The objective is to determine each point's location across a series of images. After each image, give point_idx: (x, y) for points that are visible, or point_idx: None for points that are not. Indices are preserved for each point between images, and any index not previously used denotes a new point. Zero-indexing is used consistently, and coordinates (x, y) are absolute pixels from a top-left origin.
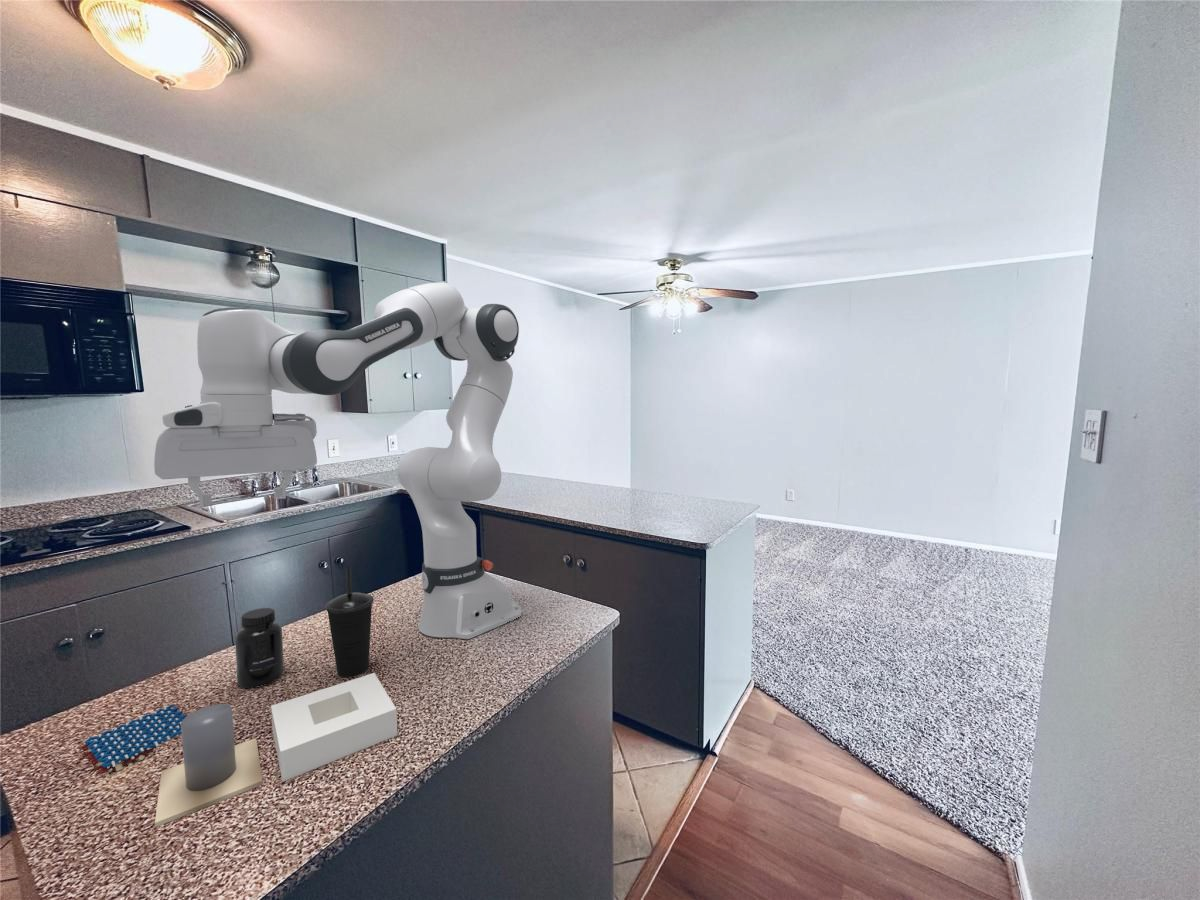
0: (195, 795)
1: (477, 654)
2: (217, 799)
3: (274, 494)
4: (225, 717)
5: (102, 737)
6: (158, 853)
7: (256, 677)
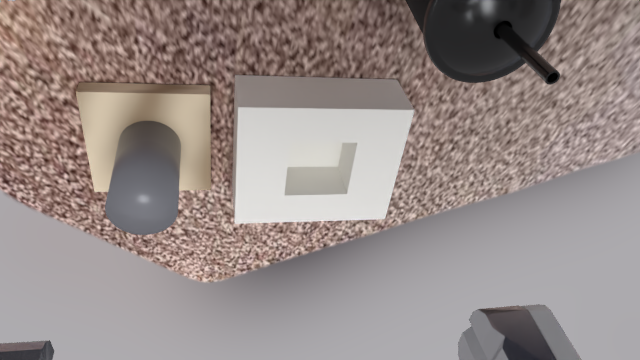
0: None
1: (610, 46)
2: None
3: (488, 337)
4: (169, 225)
5: None
6: None
7: None
